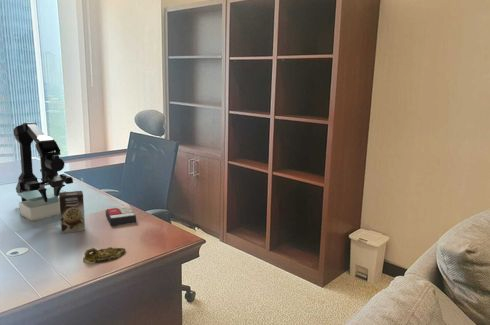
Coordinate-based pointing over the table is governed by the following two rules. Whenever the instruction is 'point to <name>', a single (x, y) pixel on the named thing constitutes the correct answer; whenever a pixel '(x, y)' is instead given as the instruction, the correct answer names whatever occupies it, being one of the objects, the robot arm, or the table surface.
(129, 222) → the black box
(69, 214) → the coffee box
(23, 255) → the table surface
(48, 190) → the lid
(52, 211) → the tub
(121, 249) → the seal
